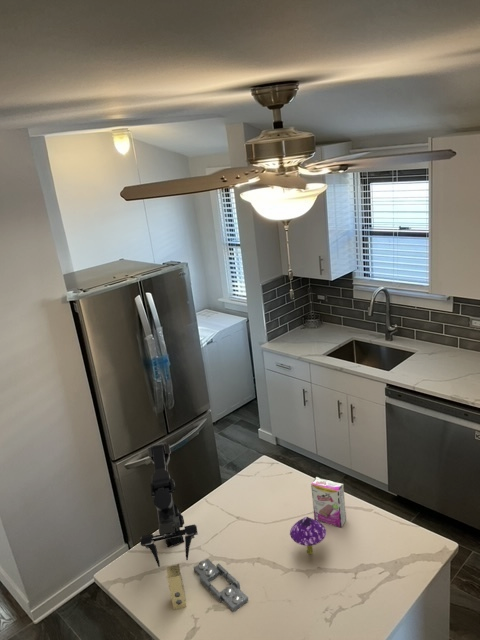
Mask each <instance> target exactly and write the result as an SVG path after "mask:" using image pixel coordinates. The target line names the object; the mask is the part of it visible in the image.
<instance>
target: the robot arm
mask: <svg viewBox="0 0 480 640" xmlns="http://www.w3.org/2000/svg"><path fill="white" fill-rule="evenodd" d="M147 451H148V458H149V459H151V462H152V464H153V467H154V468H153V469H154V472H153V474H152V475H151V482H150V483H149V484H150V496H151V498H153V505H154V506H155V508H156V510H157V521H158V526H157V527H158V535H157V534H156V535H153V534H152V533H150V534H145V535H141V536H140V538H139V541H140V546H141V547H145V549H149V550H150V552H151V554H152V556H153V557H154V560H155V562H156V565H157V566H158V567H161V563H160V562H161V561H160V559H159V554H158V549H157V545H156V544H155V543H156V542H159V541H164V540H165V544H166V547H167V548H170V547H172V546H176V545H179V544H182V543H184V545H185V546H184V547H185V549H184V550H185V559H186V561H188V560H189V553H190V547H191V543H192V539H195V536H197V535H199V533H198V528H197V527H198V526H197V525H196V524H189V525H185V519H184V515H182V513H181V511H180V512H179V508H178V506H177V505H176V504H175V502H174V499H173V495H172V494H174V493H175V491H176V483H175V480H174V479H173V478H172V477H171V476H170V472H169V470H168V465H169V462H170V460H171V457H170V454H171V455H172V453H171V445H170V444H169V443H167V442H162V443H158V444H157V443H156V444H152V445H151V446H150V447H148V448H147ZM184 525H185V526H184ZM183 527H184V528H183ZM181 528H183V529H181ZM183 536H184V537H183Z"/></svg>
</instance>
